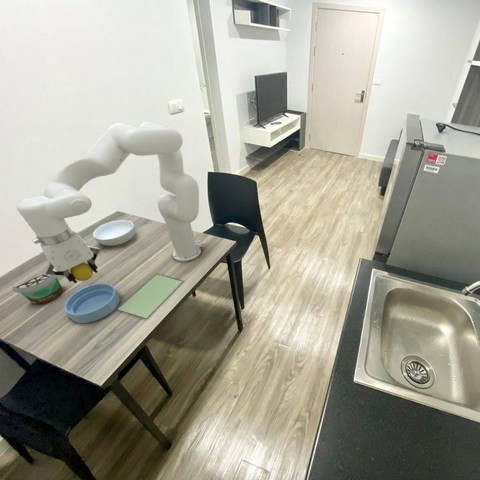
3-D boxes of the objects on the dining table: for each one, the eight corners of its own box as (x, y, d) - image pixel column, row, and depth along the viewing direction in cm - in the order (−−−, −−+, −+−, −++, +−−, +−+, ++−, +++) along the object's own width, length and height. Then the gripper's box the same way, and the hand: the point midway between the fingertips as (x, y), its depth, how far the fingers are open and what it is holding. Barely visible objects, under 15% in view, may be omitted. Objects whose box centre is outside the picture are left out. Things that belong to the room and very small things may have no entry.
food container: (33, 312, 96) (16, 294, 90) (26, 305, 98) (10, 286, 93) (73, 292, 105) (60, 274, 99) (66, 285, 107) (53, 267, 101)
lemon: (87, 286, 90) (75, 270, 86) (73, 283, 91) (61, 267, 86) (100, 275, 95) (90, 259, 90) (87, 272, 95) (76, 256, 91)
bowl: (113, 286, 109) (108, 277, 106) (125, 307, 101) (120, 298, 98) (66, 306, 99) (60, 297, 96) (76, 331, 92) (69, 322, 89)
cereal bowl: (116, 228, 140) (111, 217, 136) (145, 233, 139) (141, 222, 134) (90, 248, 126) (83, 236, 122) (122, 253, 125) (116, 241, 121)
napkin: (157, 275, 115) (156, 274, 115) (182, 282, 113) (182, 281, 113) (117, 309, 100) (117, 309, 100) (146, 318, 98) (146, 318, 97)
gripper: (24, 254, 73) (59, 296, 84) (93, 227, 85) (116, 267, 96) (14, 244, 76) (50, 286, 88) (83, 219, 88) (106, 258, 99)
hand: (84, 275), depth 92 cm, fingers closed on lemon, 5 cm apart
